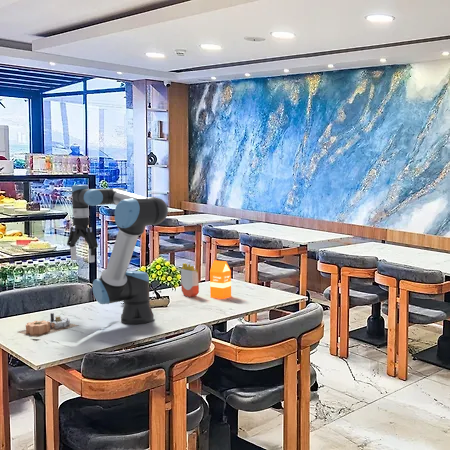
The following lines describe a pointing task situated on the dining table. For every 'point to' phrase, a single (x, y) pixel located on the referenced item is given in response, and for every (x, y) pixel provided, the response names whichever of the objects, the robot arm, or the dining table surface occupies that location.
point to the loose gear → (38, 327)
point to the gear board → (49, 330)
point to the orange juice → (220, 280)
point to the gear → (59, 324)
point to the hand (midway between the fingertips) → (82, 261)
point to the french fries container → (189, 280)
